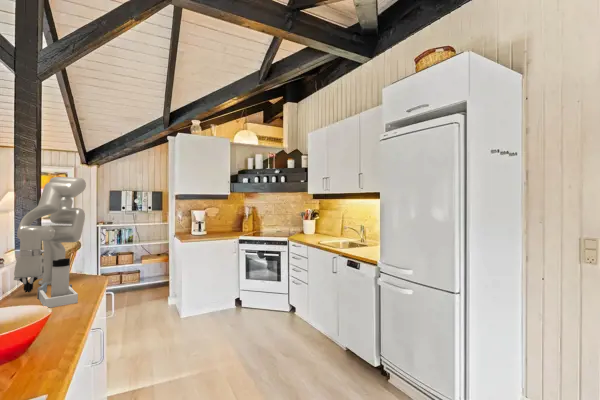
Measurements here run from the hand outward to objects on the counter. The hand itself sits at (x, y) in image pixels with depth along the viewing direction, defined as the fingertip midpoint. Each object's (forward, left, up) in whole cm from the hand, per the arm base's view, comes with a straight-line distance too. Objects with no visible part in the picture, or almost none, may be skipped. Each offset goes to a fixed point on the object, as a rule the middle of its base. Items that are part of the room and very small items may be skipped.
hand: (28, 291), depth 144 cm
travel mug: (+20, +9, -2) cm, 22 cm away
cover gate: (+3, +5, -2) cm, 6 cm away
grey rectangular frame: (+17, +9, -2) cm, 19 cm away
